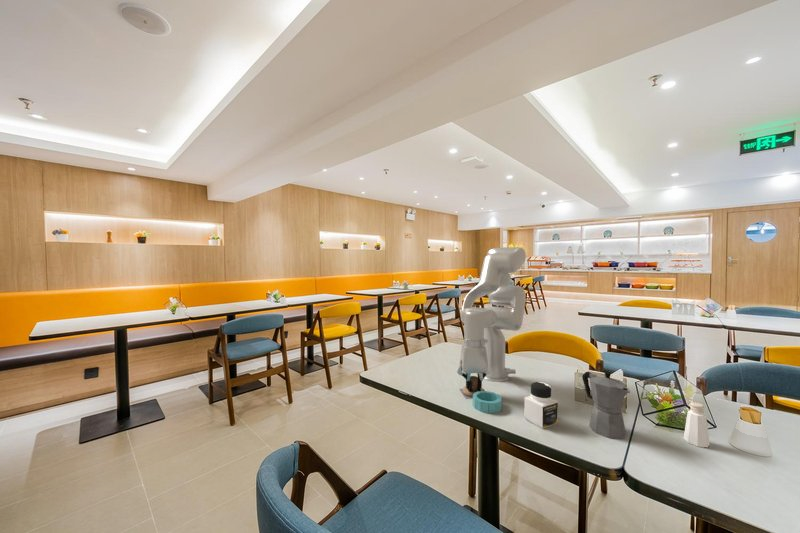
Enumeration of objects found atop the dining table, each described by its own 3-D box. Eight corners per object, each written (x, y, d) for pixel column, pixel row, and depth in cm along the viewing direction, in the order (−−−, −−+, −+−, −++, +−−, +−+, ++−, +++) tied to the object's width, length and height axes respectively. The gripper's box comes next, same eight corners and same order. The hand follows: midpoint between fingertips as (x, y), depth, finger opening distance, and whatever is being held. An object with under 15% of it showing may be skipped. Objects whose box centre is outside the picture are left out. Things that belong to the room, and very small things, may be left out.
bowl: (494, 401, 112) (494, 390, 112) (505, 414, 103) (506, 402, 103) (469, 402, 111) (469, 391, 111) (478, 415, 102) (478, 403, 102)
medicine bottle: (542, 429, 93) (543, 390, 93) (523, 418, 100) (524, 382, 100) (557, 423, 97) (558, 386, 97) (538, 413, 103) (538, 378, 103)
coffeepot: (641, 440, 88) (641, 378, 88) (615, 445, 85) (616, 381, 85) (593, 414, 103) (594, 361, 102) (571, 418, 100) (571, 363, 100)
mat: (480, 389, 123) (480, 388, 123) (489, 399, 114) (489, 397, 114) (459, 390, 122) (459, 388, 122) (465, 400, 113) (466, 398, 113)
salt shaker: (682, 434, 91) (683, 398, 91) (708, 441, 87) (708, 403, 87) (684, 443, 86) (684, 404, 86) (711, 450, 83) (711, 410, 83)
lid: (480, 388, 122) (480, 373, 122) (488, 397, 114) (488, 381, 114) (459, 389, 122) (459, 373, 122) (466, 398, 113) (466, 381, 113)
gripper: (490, 339, 122) (490, 385, 122) (450, 340, 121) (450, 386, 121) (498, 344, 115) (498, 393, 115) (456, 345, 113) (455, 395, 113)
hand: (473, 389), depth 118 cm, fingers closed on lid, 3 cm apart
